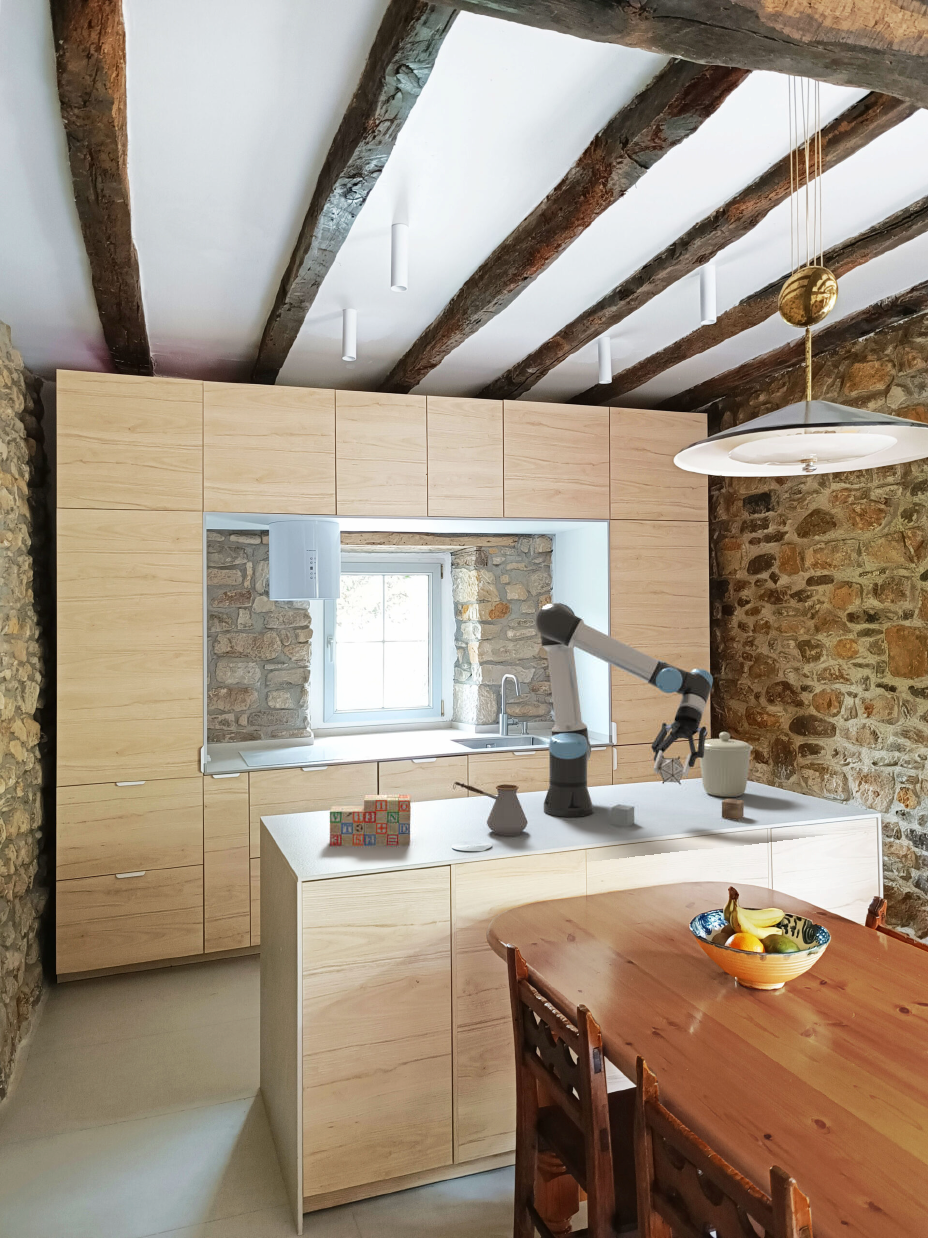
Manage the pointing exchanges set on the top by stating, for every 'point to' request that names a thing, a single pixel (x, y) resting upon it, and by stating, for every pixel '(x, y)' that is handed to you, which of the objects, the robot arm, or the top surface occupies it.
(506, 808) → the coffee pot
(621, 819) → the light grey cube
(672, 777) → the game die
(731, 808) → the walnut block
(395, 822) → the stack of blocks
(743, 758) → the canister
